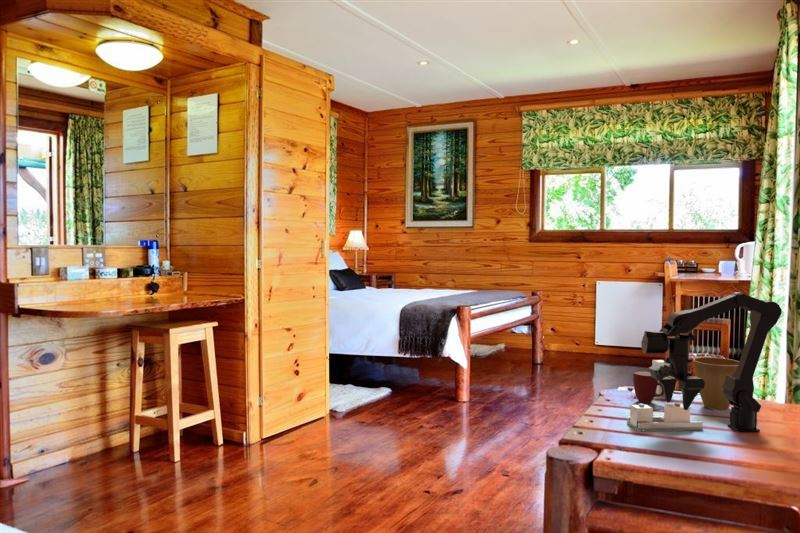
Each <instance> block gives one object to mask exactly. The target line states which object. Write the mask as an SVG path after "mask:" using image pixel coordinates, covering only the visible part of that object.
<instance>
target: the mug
mask: <svg viewBox="0 0 800 533" xmlns="http://www.w3.org/2000/svg"><path fill="white" fill-rule="evenodd" d="M632 374H633V376H632V377H633V378H632V381H633V388H634V395H635V396H636V398H637V401H638V402H639V403H640V404H651V403H652V402H653V400H654V398H659V397H660V398H661V397H662V396H665V395H664V391H663V388H662V385H661V383H659V382H658V380H656V379H655V378H652V377H651V374H650V371H641V370H640V371H634V372H633V373H632ZM657 385H659V386H660V387H661V388H662V393H661V394H660V395H659V394H657V393H656V389H657Z"/></svg>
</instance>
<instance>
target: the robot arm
mask: <svg viewBox="0 0 800 533" xmlns="http://www.w3.org/2000/svg"><path fill="white" fill-rule="evenodd" d="M737 308H741V309H744V310H746V311H749V324H750V329H749V332H748V335H747V338H746V341H745V344H744V346H743V348H742V353H741V356H740V358H739V360H738V361H739V364H738V367H737V370H736V372H735V373H734V374H733V375H732V376H729V375H726V378H725V383H724V385H723V386H722V387H723V388H724V390H723V394H724V395H725V397H726V398H727V399H728V400H729V403H730V406H731V407H730V408H731V409H730V410H731V411H730V412H729V423H727V424H726V425H727V427H729V428H731V429H734V430H736V431H738V432H742V433H744V432H745V433H746V432H761V429H759V428H758V427H757V424H758V422H757V421H758V420H757V418H758V413H760V410H761V407H762V405H761V404H760V403H759V402H758V401H757V399H755V397H754V391H755V386H754V385H755V384H754V375H755V372H756V369H757V366H758V363H759V360H760V357H761V354H762V351H763V348H764V345H765V342H766V340H767V336H768V334H769V332H770V331H771V330H772V329H773V328H774V327H775V326H776V325H777V323H778V321H779V319H780V318H781V316H782V311H783V310H782V309H783V308H781V306H780V305H779V303H777V302H775V301H771V300H765V299H759V298H756V297H752V296H749V295H748V294H746V293H744V292H738V291H735V292H733V293H731V294H729V295H726V296H724V297H720V298H719V299H716V300H713V301H711V302H707V303H706V304H703V305H701V306H699V307H696V308H691V309H684V310H680V311H676V312H675V311H674V312H671V313H670V314H668V317H667V319H666V323H665V324H664V325H662V327H661V328H660V330H659V331H650V330H645V331H644V334H643V336H642V339H641V342H640V344H641V350H642V353H643V354H652V355H656V354H657V355H664V354H665V353H667V352H668V353H667V355H668V356H665V357H664V359H663V360H664V362H662V363H659V364H656V365H653V366H652V365H651V366H649V367H648V372H650V374H651V377H652V378H655V379H656V380H658V381H659V382H660V383H661V385H662V388H663V391H664V395H663V396H664V397H665V401H666V402H667V403H671V401H672V399H673V396H674V392H675V390H676V389H675V387H676V384H677V382H678V387H677V388H678V389H679V390H680V392H681V393H682V404H683V408H684V410H688V408H689V407H691V405H692V403H693V402H694V400H695V399H696V397H697V395H698V394H700V392H699V391H702V389H704V388H705V381H704V380H703V379H701V378H698V377H696V375H695V376H692V372H690V371H689V366H690V365H689V364H692V363H693V362H692V361H693V360H692V358H690V341H698V338H697V337H695V335H694V334H693V332H691V331H692V330H694V329H695V328H698V327H699V325H701V323H703V322H705V321H706V320H707V321H708V320H710V319H712V318H715V317H717V316H721V315H722V314H725V313H727V312H730V311H732V310H735V309H737Z"/></svg>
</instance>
